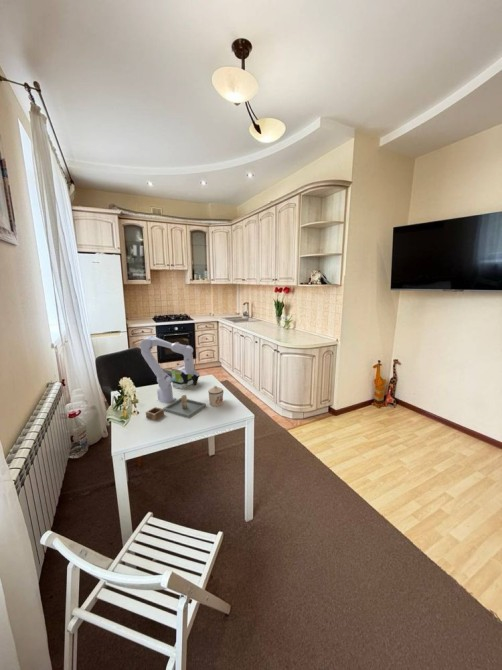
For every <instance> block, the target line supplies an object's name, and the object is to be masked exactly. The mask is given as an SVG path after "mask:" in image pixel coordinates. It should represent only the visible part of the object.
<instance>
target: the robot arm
mask: <svg viewBox="0 0 502 670" xmlns="http://www.w3.org/2000/svg"><path fill="white" fill-rule="evenodd" d="M139 346H140V353H141V355H142V357H143V358H144V361H145V362H146V363H147V365H148V366H149V368H150V369H151V371H152V372H153V373H154V376H155V377H156V382H157V384H158V388H157V390H156V392H157V393H156V395H157V400H156V401H158V402H160V403H161V402H162V403H163V404H164V403H165V404H168V403H169V404H170V403H171V402H174V401H176V400H177V398H176V397H174V396H173V395H174V394H173V393H174V392H173V385H172V376H170V375H168V373H167V372H165V371H164V370H163V368H162V367H161V365H160V364H159V362H158V360H157V359H156V358H155V356H154V355H153V353H152V349H153V347H156V346H159V347H164V348H167V349H170V350H171V351H172V352H174V353H177V354H180V355H182V356H183V364H184V365H185V370H183V369H182V370H180V373H182V374H181V375H180V376H181V377H182V379H183V381H184V383H185V384H187V383H188V374H190V375H194V376H192V377H191V378H192V380H193V385H192V386H193V387H196V386H197V384H198V380H199V378H200V372H198V371H196V370H195V371H194V365H195V364H194V357H193V356H194V354H193V352H194V348H193V347H192V345H189V344H188V345H186V344H182V343H180V342H179V341H176V342H174V343H173V342H170V341H167V340H164V339H162V338H159V337H158V336H157V337H156V336H153V335H148V336H146V337H145V338H143V339H141V341H140V344H139Z"/></svg>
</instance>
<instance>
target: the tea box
mask: <svg viewBox="0 0 502 670" xmlns="http://www.w3.org/2000/svg"><path fill="white" fill-rule="evenodd" d="M195 366H196V365H195V364H194V371H196V367H195ZM182 369H183V370H185V365H184V363H182V364H179V365H176V366H174V367H172V368H171V369H170V370H171V378H172V383H171V385H172V388H176V389H180V390H183V389H185V388H187V387H188V386H191V385H192V384H193V380H192V378H191V377H192V376H194V375H190V374H188V383H187V384H185V383H184V381H183V379H182V377H181V376H180V375H181V374H182V373H180V370H182Z"/></svg>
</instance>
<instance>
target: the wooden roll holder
mask: <svg viewBox="0 0 502 670" xmlns="http://www.w3.org/2000/svg"><path fill="white" fill-rule="evenodd" d="M145 416H146V419H149V420H152V421H156V420H158V419H160V418H162V417H163V416H165V411H164V409H163V408H161V407H156V406H154V407H153V408H150V409H149V410H147V411H145Z"/></svg>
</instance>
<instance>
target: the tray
mask: <svg viewBox="0 0 502 670" xmlns="http://www.w3.org/2000/svg"><path fill="white" fill-rule="evenodd" d="M205 408H207V403H206V402H201V401H198V400H197V401H196V400H193V399H189V398H187V409H182V398H181V397H180V398H179V399H176V400H174V401H172V403H171V402H170V403H169V404H167V405H166V406H165V407H162V409H164V412H167V413H170V414H173V415H175V416H180V417H184V418H187V419H189V418H191V417H193V416H194V415H195V414H197V413H198V412H200V411H201V410H203V409H205Z"/></svg>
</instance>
